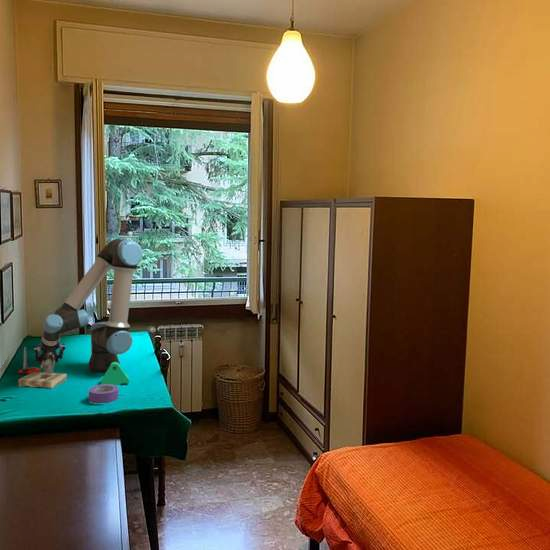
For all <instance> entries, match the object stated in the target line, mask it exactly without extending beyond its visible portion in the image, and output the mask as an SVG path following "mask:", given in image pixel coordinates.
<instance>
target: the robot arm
mask: <svg viewBox="0 0 550 550" xmlns="http://www.w3.org/2000/svg"><path fill="white" fill-rule="evenodd" d="M143 254H144V252H143V248H142V247H141V246H140V244H139V243H138V242H136V241H134V240H132V239H122V238H115V239H112V240H110V241H109V242H107V243H106V244H105V245H104V246H103V248H101V250H100V251H99V253H98V254H97V255H96V256H95V261H94V263H93V264H92V265H91V267H90V268H89V269H88V270H87V272H86V273H85V275H83V277H82V279H81V280H80V281H79V282H78V284H77V285H76V287H75V288H74V289H73V290H72V292H71V293H70V295H69V296H68V297H67V298H66V300H65V301H64V302H63V304H61V306H58V307H56V308H55V309H54V310H53V312H52V314H49V315H47V316H46V317H45V319H44V321H43V325H42V328H43V329H42V335H41V344H40V345H39V346H37V345H36V346H34V347H33V349H34V350H33V351H34V361H35V362H36V363H37V362H38V365H39V366H40V370H44V369H43V364H44V360H43V359H44V357H45V355H47V353H49V352H53V368H54V369H55V365H56V364H57V363H58V362H59V360H62V359H63V355H64V351H65V350H66V344H65V343H62V344H60V342H61V335H62V334H65V333H68V332H71V331H73V330H77V329H79V328H83V327H85V326H87V325H89V322H90V317H89V315H88V312H87V311H86V310H85V309H81V308H82V307H83V305H84V304H85V302H87V300H88V299H89V297H90V296H91V295H92V294H93V292H94V291H95V289H96V288H97V287H98V286H99V284H100V283H101V282H102V280H103V279H104V277H105V276H106V275H107V274H108V272H109V271H110V270H114V272H113V278H112V279H113V280H112V281H113V282H112V290H111V291H112V292H111V299H110V307H109V314H108V315H109V316H108V321H100V322H95V323H92V324H91V325H90V346H91V351H90V352H91V353H90V354H91V355H90V357H89V361H88V363H87V370H88V371H89V372H93V373H94V372H95V373H106V372H107V370H108V368H109V367H110V365H111V363H113V362H117V363H119V365H120V364H121V363H120V360H119V356H118V355H123V354H126V353H127V352H128V351H129V350H130V349H131V347H132V345H133V336H132V335H131V333H130V331H131V330H130V329H131V325H130V324H129V323H128V319H129V310H130V302H131V296H132V295H131V293H132V285H133V277H134V276H133V275H134V273H135V272H136V271H137V270H138V264H139V263H140V262H141V261H142V259H143V257H144V255H143ZM58 349H59V351H58V354H57V350H58ZM40 351H41V352H40ZM39 353H40V354H39ZM120 366H121V365H120ZM112 368H113V369H116V368H117V367H116V366H114V367H112Z"/></svg>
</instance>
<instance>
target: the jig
mask: <svg viewBox="0 0 550 550" xmlns="http://www.w3.org/2000/svg"><path fill="white" fill-rule="evenodd" d="M67 378H68V375H67V373H58V372H54V373H45V372H44V371H43V372H41V371H39V372H34V373H31V374H26V375H25V376H23V377H21V378H19V379H18V387H24V386H29V387H28V388H37V387H45V388H44V389H49V388H52V389H54V388H55V386H56V387H57V386H59V385H61V384H63V383H65V382H67V381H66V380H67ZM64 381H65V382H64ZM62 382H63V383H62ZM53 387H54V388H53Z"/></svg>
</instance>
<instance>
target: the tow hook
mask: <svg viewBox="0 0 550 550" xmlns="http://www.w3.org/2000/svg"><path fill="white" fill-rule="evenodd" d="M22 367H23V368H22V369H20V370H18V371H17V372H18V373H17V374H19V375H20V374H22V375H29V374H31V373H34V372H41V368H39V367H28V363H27V347H26V346H24V347H23V365H22Z"/></svg>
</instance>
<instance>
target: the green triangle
mask: <svg viewBox="0 0 550 550" xmlns="http://www.w3.org/2000/svg"><path fill="white" fill-rule="evenodd" d="M114 366H116V367H117V368H116V369H113V368H112V367H114ZM129 383H130V375H129V374H126V372H125V371H124V370H123V369H122V367H121V365H119V363H117V362H113V363H111V365H110V367H109V368H108V370H107V372H104V375H103V376H101V379H100V385H102V384H111V385H120V384H129ZM120 386H121V385H120Z"/></svg>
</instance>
